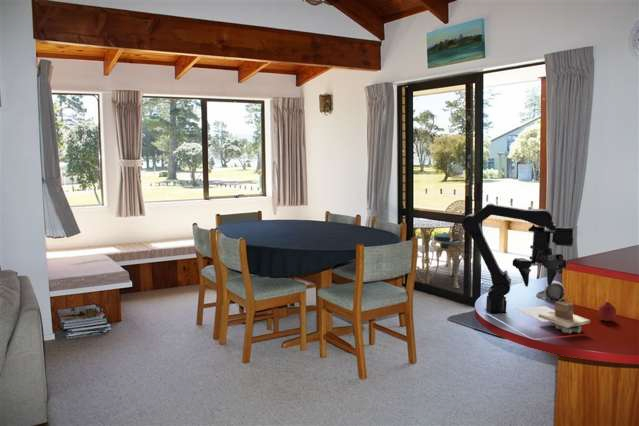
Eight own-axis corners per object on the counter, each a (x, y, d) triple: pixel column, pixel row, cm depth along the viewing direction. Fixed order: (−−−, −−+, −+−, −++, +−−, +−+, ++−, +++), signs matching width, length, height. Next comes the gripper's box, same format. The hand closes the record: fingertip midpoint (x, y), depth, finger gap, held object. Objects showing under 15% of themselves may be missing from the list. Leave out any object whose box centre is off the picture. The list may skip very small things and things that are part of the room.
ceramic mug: (562, 297, 230) (563, 279, 229) (564, 302, 222) (565, 283, 221) (535, 295, 233) (536, 277, 232) (536, 300, 226) (537, 282, 225)
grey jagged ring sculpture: (584, 335, 186) (585, 323, 185) (563, 336, 185) (564, 324, 184) (566, 324, 196) (566, 313, 196) (546, 325, 195) (547, 314, 195)
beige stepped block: (567, 327, 182) (567, 310, 181) (538, 316, 194) (538, 300, 194) (590, 322, 186) (590, 305, 185) (560, 312, 198) (560, 296, 197)
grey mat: (542, 323, 197) (542, 321, 197) (516, 309, 212) (516, 308, 212) (573, 320, 200) (573, 319, 200) (545, 307, 215) (545, 306, 215)
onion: (613, 320, 200) (615, 299, 199) (616, 325, 195) (618, 303, 194) (596, 318, 202) (597, 297, 201) (598, 323, 197) (600, 301, 196)
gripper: (530, 249, 190) (527, 293, 192) (578, 248, 194) (574, 291, 196) (513, 242, 201) (510, 284, 203) (558, 242, 205) (555, 282, 207)
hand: (537, 285), depth 202 cm, fingers open, 9 cm apart
